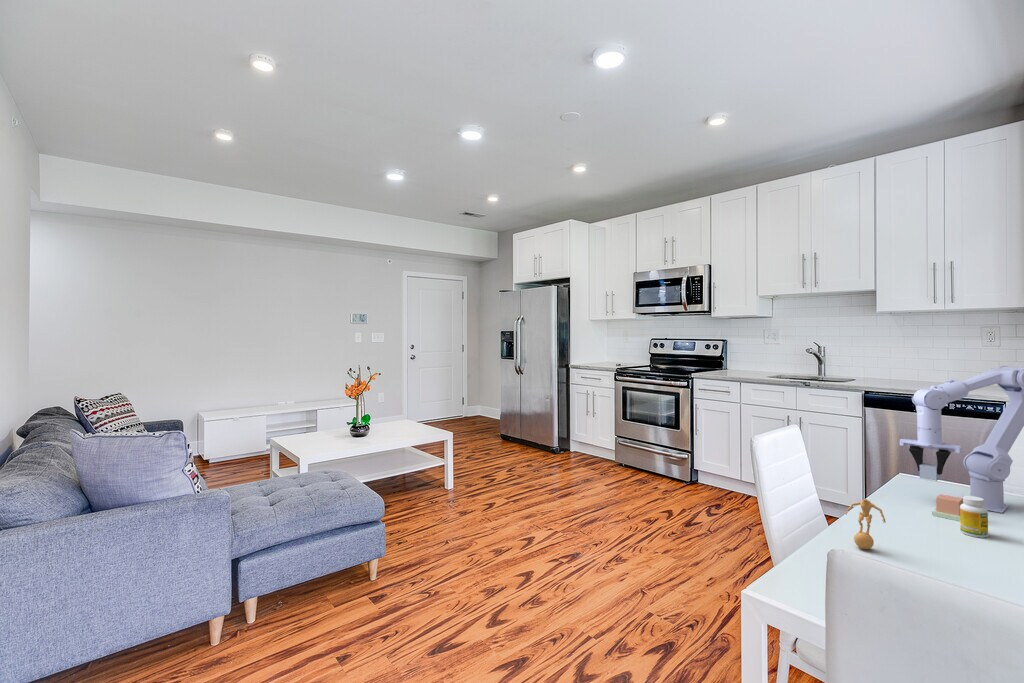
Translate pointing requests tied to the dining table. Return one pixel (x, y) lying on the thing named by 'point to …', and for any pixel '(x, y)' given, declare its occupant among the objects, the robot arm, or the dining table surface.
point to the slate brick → (929, 472)
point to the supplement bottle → (973, 517)
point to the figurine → (861, 537)
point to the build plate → (945, 515)
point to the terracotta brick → (948, 504)
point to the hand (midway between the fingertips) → (930, 472)
